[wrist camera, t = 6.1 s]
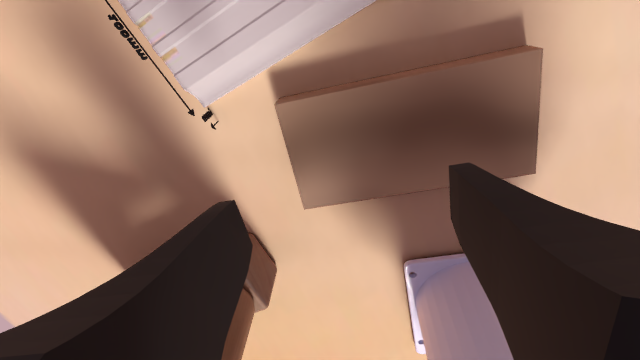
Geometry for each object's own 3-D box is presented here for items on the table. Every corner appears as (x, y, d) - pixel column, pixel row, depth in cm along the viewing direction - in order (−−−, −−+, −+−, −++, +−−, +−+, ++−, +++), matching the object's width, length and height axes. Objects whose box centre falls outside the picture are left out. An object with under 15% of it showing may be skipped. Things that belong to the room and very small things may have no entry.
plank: (521, 161, 18) (535, 173, 17) (307, 196, 20) (304, 209, 19) (526, 45, 16) (542, 48, 14) (280, 97, 18) (274, 104, 16)
